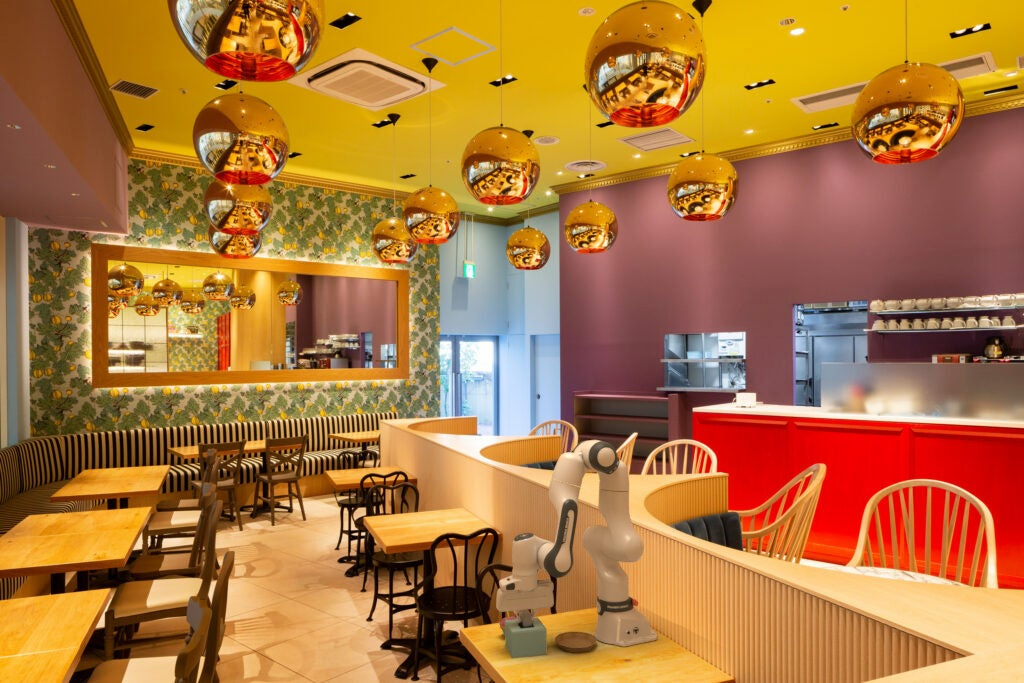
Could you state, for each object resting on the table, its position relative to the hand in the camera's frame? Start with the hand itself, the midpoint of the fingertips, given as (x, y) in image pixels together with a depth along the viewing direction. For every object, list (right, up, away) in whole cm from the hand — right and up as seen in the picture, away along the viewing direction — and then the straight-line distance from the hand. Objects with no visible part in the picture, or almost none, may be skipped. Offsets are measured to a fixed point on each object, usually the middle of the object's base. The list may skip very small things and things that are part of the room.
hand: (525, 621), depth 233 cm
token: (0, -2, 0) cm, 2 cm away
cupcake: (-5, -11, +12) cm, 16 cm away
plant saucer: (+18, -10, +3) cm, 21 cm away
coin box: (0, -10, -1) cm, 10 cm away
